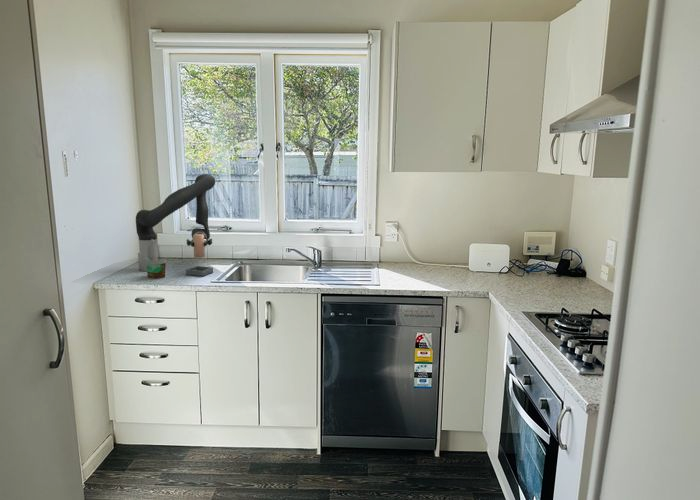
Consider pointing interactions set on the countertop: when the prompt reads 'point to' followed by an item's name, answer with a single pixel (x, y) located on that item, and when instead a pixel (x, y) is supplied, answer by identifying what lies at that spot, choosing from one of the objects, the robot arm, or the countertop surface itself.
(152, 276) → the food container
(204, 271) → the holder
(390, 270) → the countertop surface
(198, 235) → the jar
